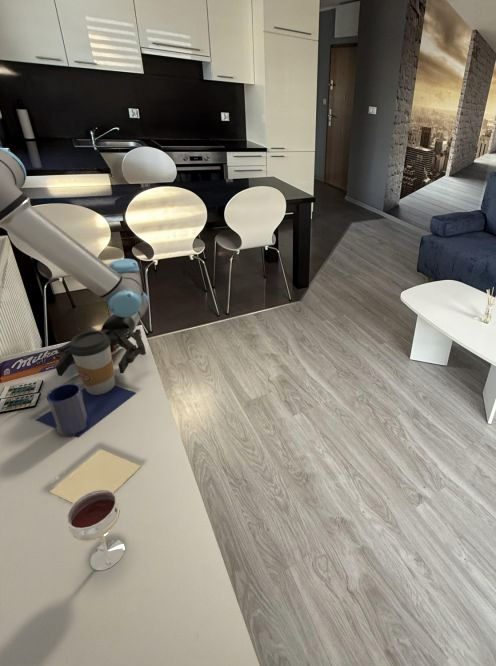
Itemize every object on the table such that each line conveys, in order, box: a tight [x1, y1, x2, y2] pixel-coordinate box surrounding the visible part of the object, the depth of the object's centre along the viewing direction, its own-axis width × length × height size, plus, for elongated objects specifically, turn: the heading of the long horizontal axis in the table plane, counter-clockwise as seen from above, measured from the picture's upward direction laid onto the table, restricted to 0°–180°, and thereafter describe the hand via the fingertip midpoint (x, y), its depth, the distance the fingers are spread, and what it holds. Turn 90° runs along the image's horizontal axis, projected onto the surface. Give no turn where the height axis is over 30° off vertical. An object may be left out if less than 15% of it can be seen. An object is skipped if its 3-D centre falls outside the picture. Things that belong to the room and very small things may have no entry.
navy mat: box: [35, 384, 137, 439], centre depth 96 cm, size 13×16×1 cm
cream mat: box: [49, 449, 142, 504], centre depth 79 cm, size 11×11×1 cm
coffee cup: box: [69, 330, 116, 395], centre depth 99 cm, size 8×8×15 cm
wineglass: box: [65, 489, 125, 571], centre depth 64 cm, size 7×7×12 cm
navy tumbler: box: [46, 382, 90, 438], centre depth 88 cm, size 6×6×10 cm
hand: (90, 370), depth 96 cm, fingers open, 13 cm apart
